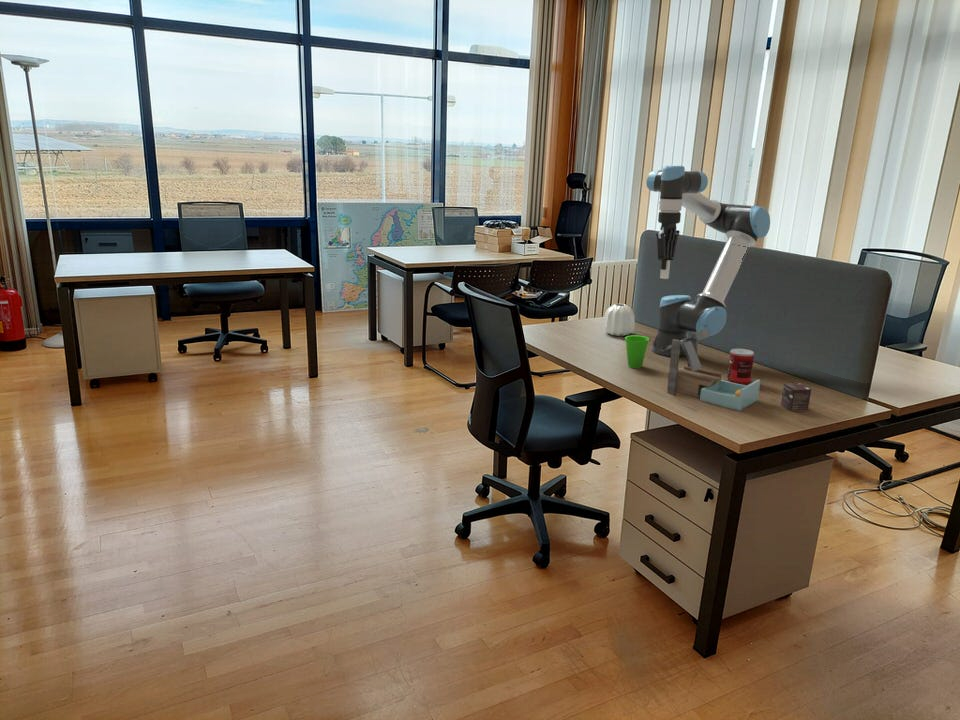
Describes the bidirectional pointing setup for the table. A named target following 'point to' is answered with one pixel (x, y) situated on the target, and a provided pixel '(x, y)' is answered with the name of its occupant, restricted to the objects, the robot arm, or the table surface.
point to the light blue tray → (731, 394)
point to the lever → (690, 348)
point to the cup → (636, 350)
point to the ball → (737, 393)
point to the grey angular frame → (688, 374)
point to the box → (796, 397)
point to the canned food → (740, 366)
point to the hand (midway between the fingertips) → (664, 278)
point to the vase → (619, 320)
